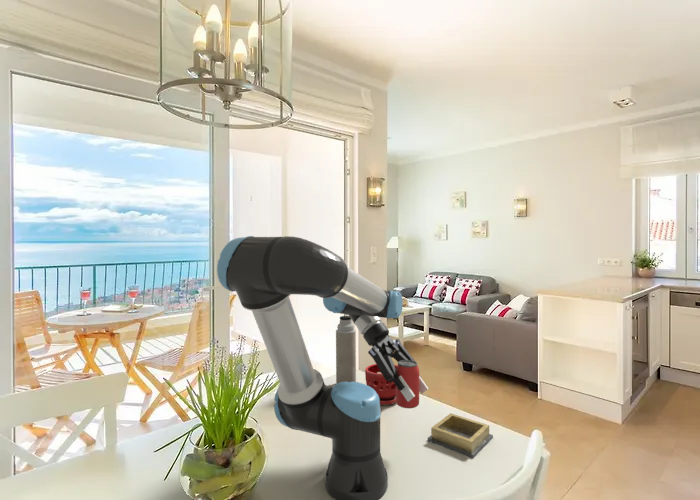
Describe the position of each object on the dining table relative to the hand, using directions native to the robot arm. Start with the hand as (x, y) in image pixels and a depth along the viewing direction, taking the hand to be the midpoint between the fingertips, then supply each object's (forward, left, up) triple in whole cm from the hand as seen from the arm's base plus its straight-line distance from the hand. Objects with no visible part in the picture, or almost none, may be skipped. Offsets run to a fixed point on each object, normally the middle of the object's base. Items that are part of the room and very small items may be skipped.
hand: (418, 394), depth 109 cm
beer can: (0, +4, -4) cm, 5 cm away
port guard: (+13, -6, -16) cm, 21 cm away
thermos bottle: (+23, +48, -16) cm, 55 cm away
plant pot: (+21, +28, -16) cm, 38 cm away
